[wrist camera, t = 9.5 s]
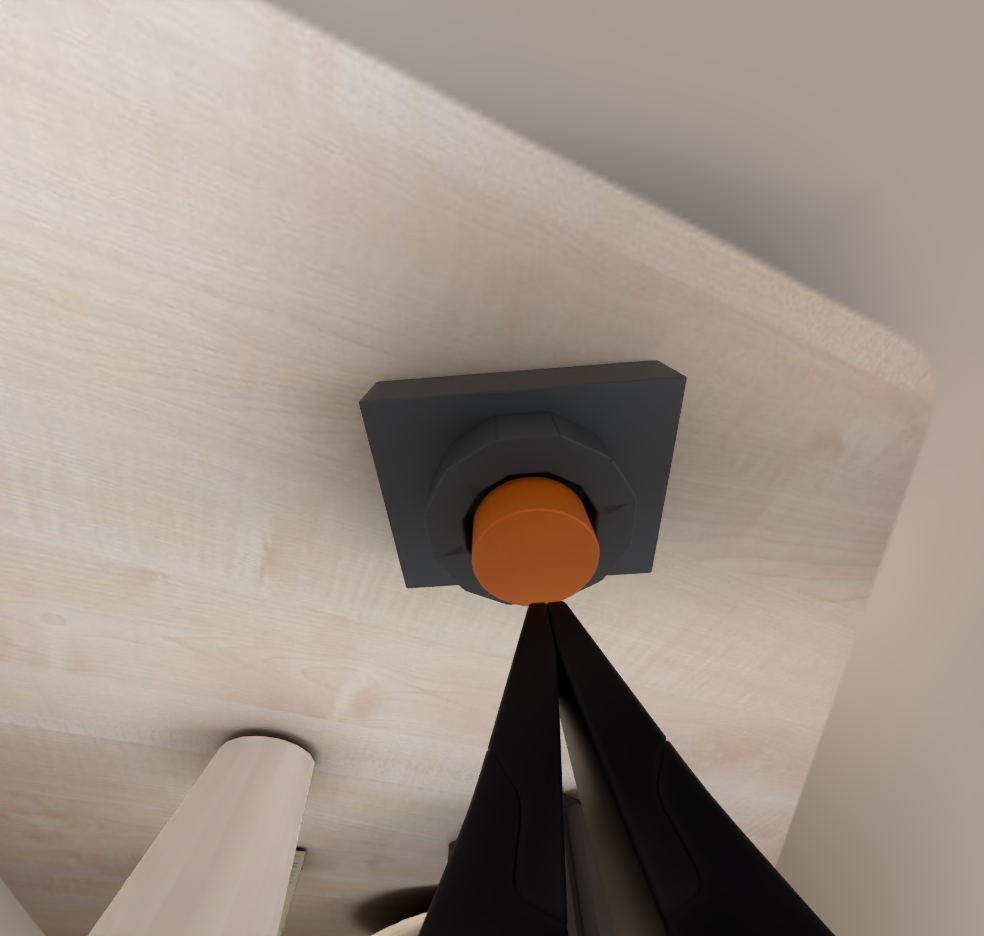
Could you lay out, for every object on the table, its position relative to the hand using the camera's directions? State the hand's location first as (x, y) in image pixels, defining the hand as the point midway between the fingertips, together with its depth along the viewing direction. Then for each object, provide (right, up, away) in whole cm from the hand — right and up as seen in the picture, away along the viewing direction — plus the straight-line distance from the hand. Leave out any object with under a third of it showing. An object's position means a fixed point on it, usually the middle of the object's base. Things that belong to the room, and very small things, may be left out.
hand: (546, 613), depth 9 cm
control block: (0, +3, +6) cm, 7 cm away
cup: (-17, -16, +17) cm, 29 cm away
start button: (0, +2, +3) cm, 4 cm away
